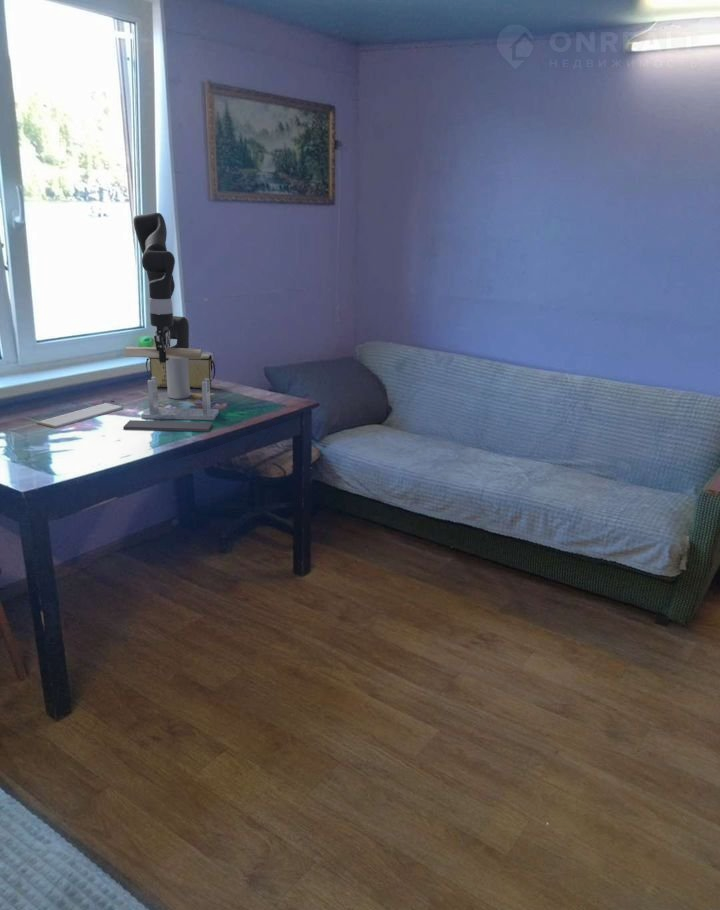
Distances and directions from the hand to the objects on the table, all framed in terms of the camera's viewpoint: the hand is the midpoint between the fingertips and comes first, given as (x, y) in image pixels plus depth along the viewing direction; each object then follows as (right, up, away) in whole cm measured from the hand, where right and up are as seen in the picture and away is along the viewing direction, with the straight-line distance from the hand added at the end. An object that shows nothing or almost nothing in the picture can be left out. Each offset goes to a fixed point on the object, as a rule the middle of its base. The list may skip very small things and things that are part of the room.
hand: (164, 361), depth 245 cm
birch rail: (0, +1, 0) cm, 1 cm away
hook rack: (0, -18, +22) cm, 29 cm away
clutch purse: (-10, -3, +64) cm, 65 cm away
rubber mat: (-1, -23, +8) cm, 24 cm away
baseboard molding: (-37, -19, +19) cm, 45 cm away
